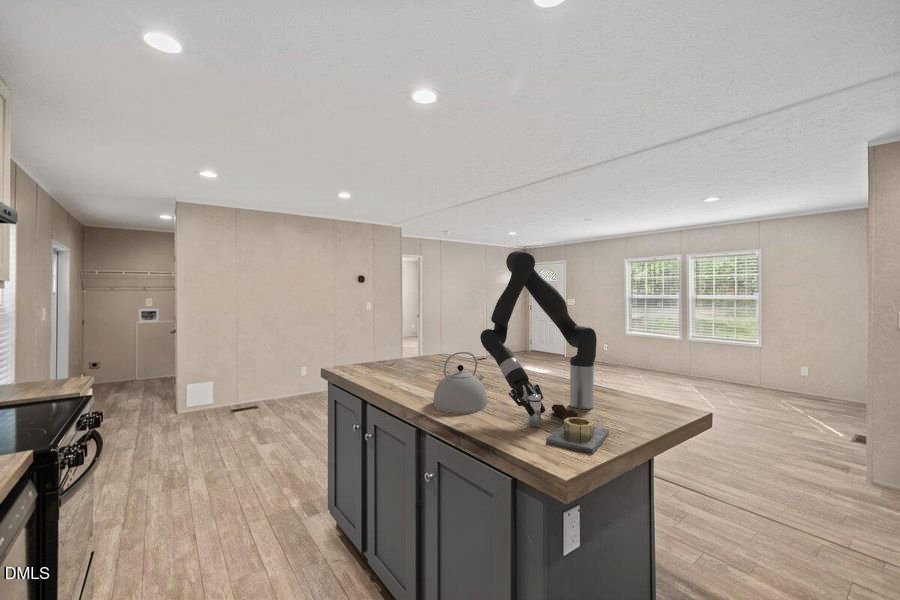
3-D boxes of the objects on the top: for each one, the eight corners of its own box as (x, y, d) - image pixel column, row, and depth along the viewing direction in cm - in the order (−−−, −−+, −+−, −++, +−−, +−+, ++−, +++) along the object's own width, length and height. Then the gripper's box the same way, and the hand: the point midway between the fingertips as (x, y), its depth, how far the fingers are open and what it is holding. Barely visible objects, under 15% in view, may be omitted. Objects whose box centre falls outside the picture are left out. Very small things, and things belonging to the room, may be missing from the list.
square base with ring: (567, 425, 136) (567, 410, 136) (608, 434, 128) (608, 417, 128) (546, 443, 120) (546, 425, 120) (592, 454, 112) (592, 435, 112)
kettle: (466, 395, 179) (467, 346, 179) (502, 405, 162) (502, 352, 161) (422, 404, 164) (422, 351, 163) (456, 417, 146) (456, 357, 146)
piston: (530, 420, 138) (530, 392, 138) (543, 423, 135) (543, 394, 135) (525, 424, 134) (525, 395, 134) (538, 426, 132) (537, 397, 132)
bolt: (557, 417, 152) (573, 429, 137) (546, 411, 152) (562, 422, 137) (563, 404, 153) (581, 414, 138) (553, 398, 152) (569, 407, 137)
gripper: (504, 369, 137) (529, 411, 127) (532, 364, 145) (558, 404, 135) (494, 381, 141) (518, 423, 131) (522, 376, 149) (546, 415, 140)
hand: (538, 413), depth 133 cm, fingers closed on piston, 4 cm apart
